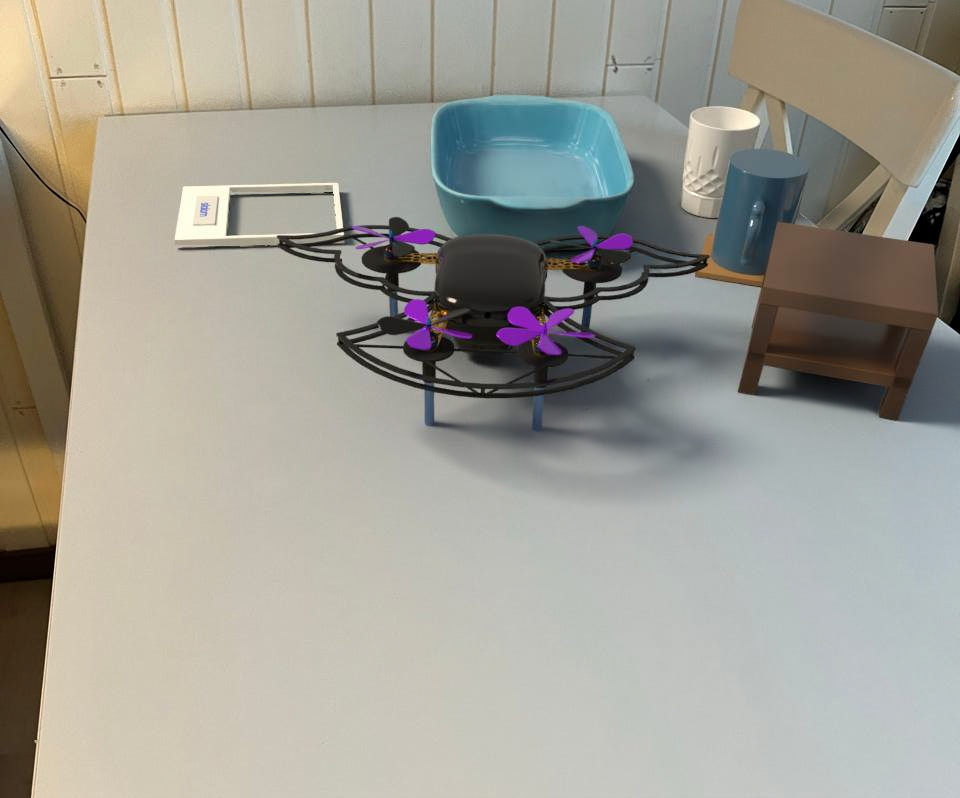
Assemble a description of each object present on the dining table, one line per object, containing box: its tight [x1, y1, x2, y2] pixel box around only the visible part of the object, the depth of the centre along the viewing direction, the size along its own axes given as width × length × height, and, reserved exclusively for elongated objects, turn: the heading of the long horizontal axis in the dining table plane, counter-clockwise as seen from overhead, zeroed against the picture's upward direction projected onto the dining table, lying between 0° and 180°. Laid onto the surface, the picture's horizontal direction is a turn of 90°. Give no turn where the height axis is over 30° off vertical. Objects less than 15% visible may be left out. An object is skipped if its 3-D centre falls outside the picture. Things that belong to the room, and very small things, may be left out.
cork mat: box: [694, 233, 764, 288], centre depth 108 cm, size 10×10×1 cm
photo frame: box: [174, 182, 345, 247], centre depth 112 cm, size 15×1×18 cm
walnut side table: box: [737, 222, 939, 421], centre depth 89 cm, size 14×14×10 cm
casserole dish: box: [430, 94, 635, 251], centre depth 115 cm, size 37×22×7 cm, turn 2°
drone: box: [277, 216, 710, 432], centre depth 86 cm, size 40×10×28 cm
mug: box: [711, 148, 810, 275], centre depth 103 cm, size 8×11×10 cm
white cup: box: [680, 105, 762, 219], centre depth 115 cm, size 8×8×10 cm
